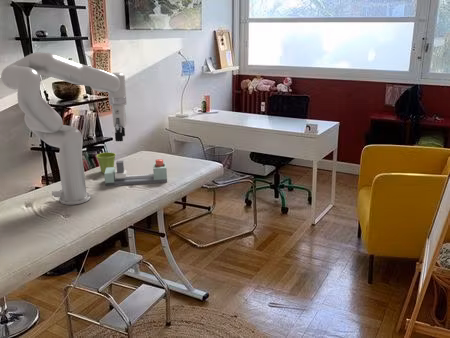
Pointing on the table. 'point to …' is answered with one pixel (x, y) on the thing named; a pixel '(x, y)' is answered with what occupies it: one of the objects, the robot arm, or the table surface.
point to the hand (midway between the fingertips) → (120, 138)
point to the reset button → (159, 163)
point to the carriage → (120, 170)
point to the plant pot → (106, 160)
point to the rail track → (136, 177)
